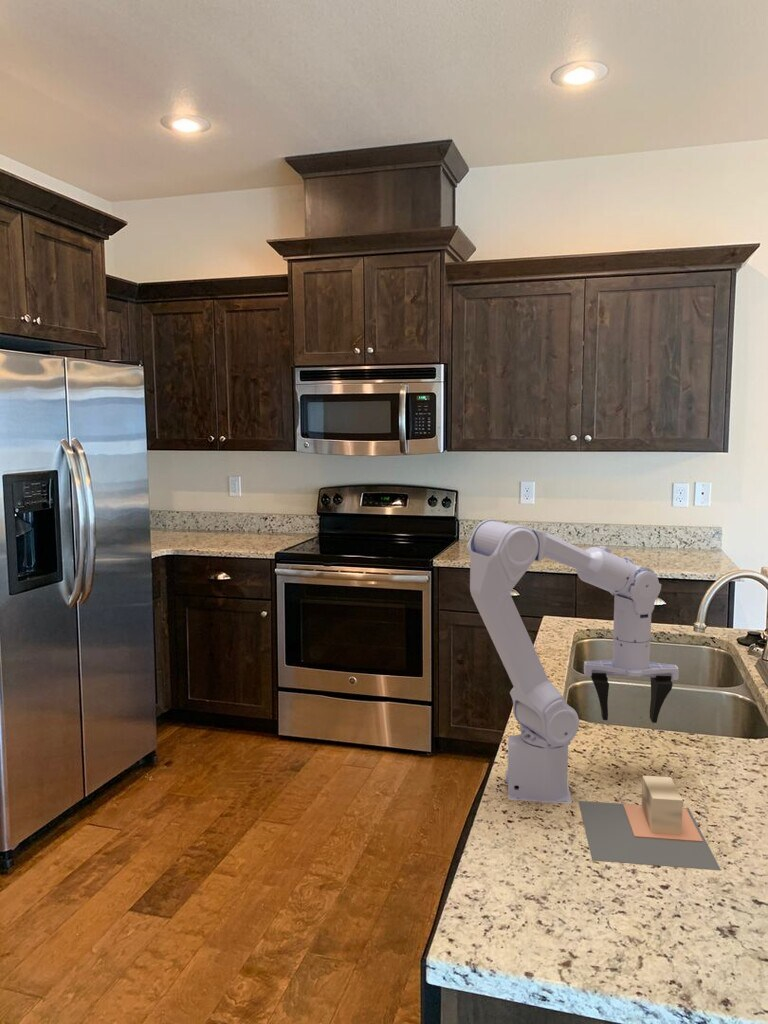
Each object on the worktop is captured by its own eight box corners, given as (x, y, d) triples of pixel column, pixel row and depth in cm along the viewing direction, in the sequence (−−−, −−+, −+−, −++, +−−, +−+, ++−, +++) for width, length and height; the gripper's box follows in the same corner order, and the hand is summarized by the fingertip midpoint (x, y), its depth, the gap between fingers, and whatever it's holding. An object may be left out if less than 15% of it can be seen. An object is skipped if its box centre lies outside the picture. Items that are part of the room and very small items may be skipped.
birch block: (641, 807, 111) (642, 775, 110) (669, 809, 110) (670, 777, 110) (651, 832, 104) (652, 798, 103) (681, 834, 103) (682, 800, 103)
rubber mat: (592, 862, 98) (592, 858, 98) (578, 803, 114) (578, 799, 113) (720, 873, 96) (721, 868, 95) (688, 810, 111) (688, 806, 111)
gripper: (588, 643, 118) (586, 726, 119) (684, 646, 116) (681, 731, 117) (583, 631, 125) (580, 710, 126) (674, 634, 123) (670, 714, 124)
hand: (628, 719), depth 122 cm, fingers open, 7 cm apart
